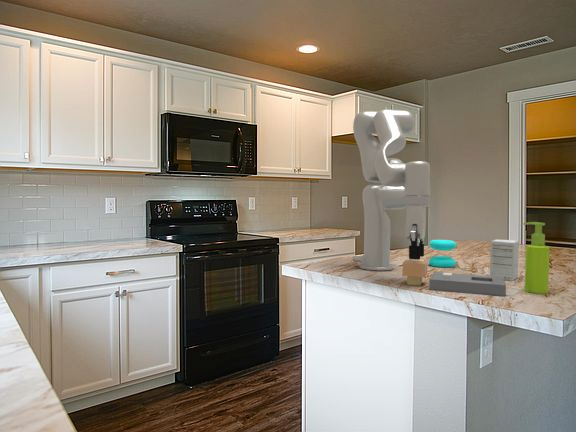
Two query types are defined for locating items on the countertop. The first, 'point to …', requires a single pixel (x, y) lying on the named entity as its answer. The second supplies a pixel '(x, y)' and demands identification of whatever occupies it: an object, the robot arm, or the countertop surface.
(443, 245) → the donuts
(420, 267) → the plug
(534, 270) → the soap dispenser
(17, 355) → the countertop surface
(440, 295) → the countertop surface
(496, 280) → the socket
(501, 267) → the supplement box
